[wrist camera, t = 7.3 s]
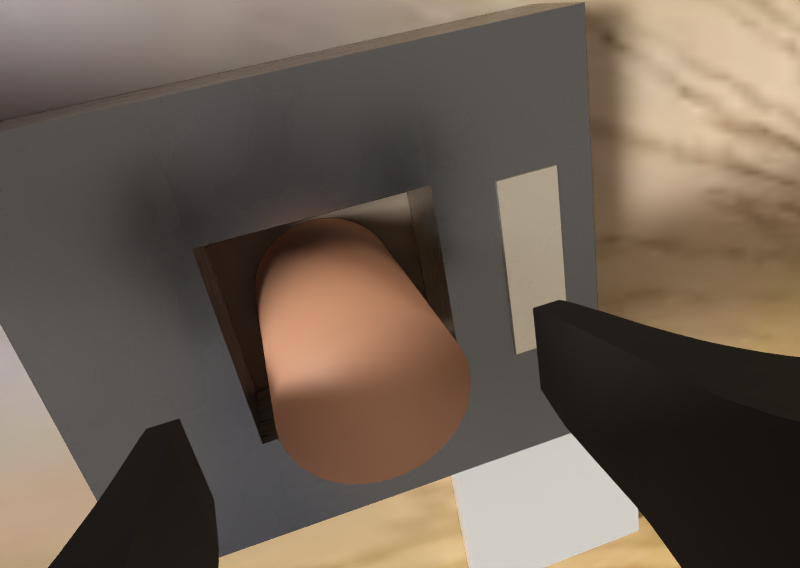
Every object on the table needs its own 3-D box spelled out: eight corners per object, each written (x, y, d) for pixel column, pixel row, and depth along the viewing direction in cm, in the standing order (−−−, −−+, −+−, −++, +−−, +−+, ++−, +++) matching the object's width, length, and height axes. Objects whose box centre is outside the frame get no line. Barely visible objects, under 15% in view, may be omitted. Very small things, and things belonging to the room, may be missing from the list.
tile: (629, 519, 25) (638, 530, 25) (471, 580, 24) (477, 593, 23) (626, 381, 22) (636, 390, 21) (444, 443, 21) (450, 454, 20)
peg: (409, 319, 19) (487, 439, 13) (283, 367, 18) (312, 512, 13) (373, 198, 17) (447, 281, 12) (232, 247, 16) (241, 358, 11)
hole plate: (562, 379, 21) (604, 423, 19) (150, 517, 19) (142, 587, 17) (532, 4, 16) (586, 1, 14) (-44, 130, 14) (-96, 154, 11)
